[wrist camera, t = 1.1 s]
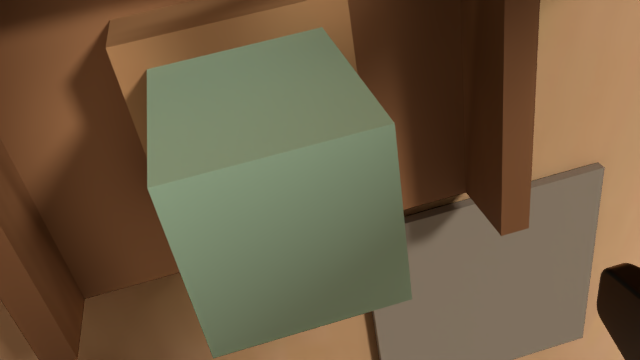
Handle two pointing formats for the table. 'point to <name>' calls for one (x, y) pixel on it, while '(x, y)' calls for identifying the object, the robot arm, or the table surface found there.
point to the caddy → (207, 38)
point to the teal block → (276, 189)
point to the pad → (497, 277)
